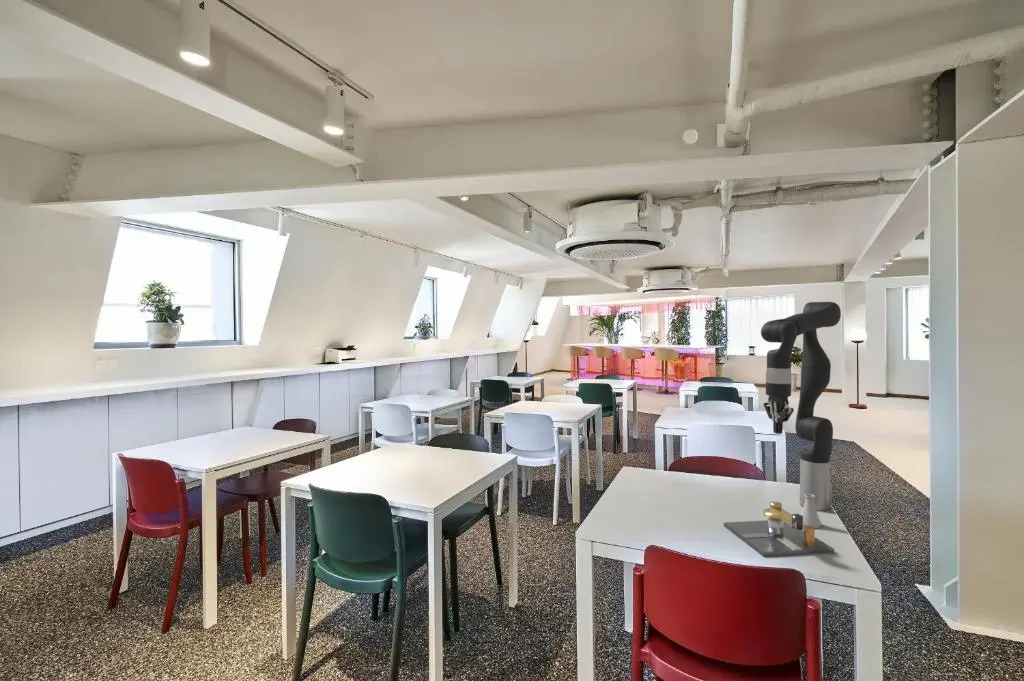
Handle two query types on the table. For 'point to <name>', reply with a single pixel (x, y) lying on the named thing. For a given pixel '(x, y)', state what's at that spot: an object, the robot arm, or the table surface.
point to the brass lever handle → (784, 516)
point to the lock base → (778, 538)
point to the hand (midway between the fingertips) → (777, 433)
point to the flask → (810, 512)
